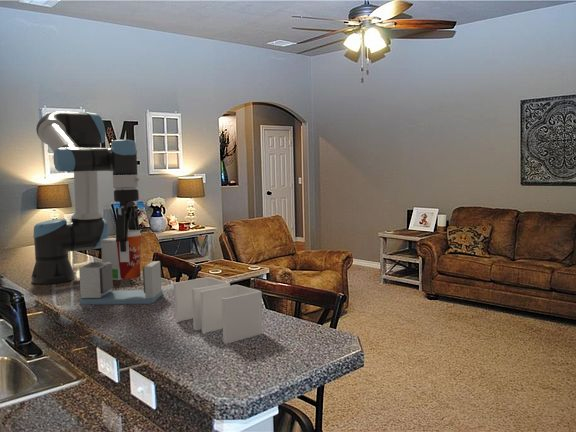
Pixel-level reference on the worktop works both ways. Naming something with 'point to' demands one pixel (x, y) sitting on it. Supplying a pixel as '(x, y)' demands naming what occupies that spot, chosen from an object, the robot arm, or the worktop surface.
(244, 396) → the worktop surface
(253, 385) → the worktop surface
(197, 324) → the grey rectangular blocks
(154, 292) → the base
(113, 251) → the skincare box
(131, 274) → the coffee cup
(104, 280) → the block
